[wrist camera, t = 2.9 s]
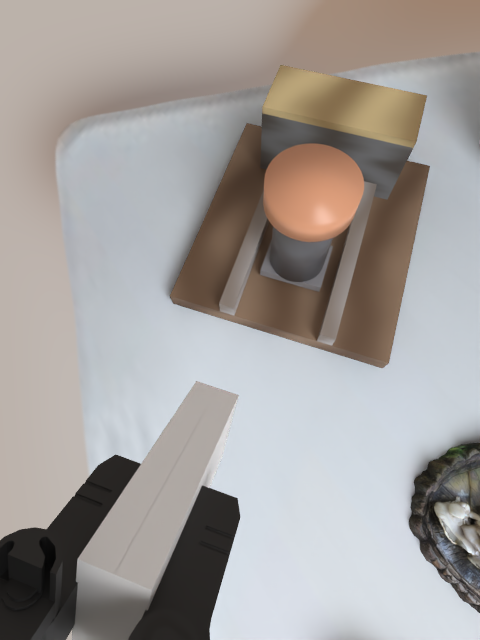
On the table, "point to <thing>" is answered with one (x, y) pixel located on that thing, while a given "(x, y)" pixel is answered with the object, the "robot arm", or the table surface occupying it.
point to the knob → (308, 210)
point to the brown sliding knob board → (348, 247)
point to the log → (451, 519)
